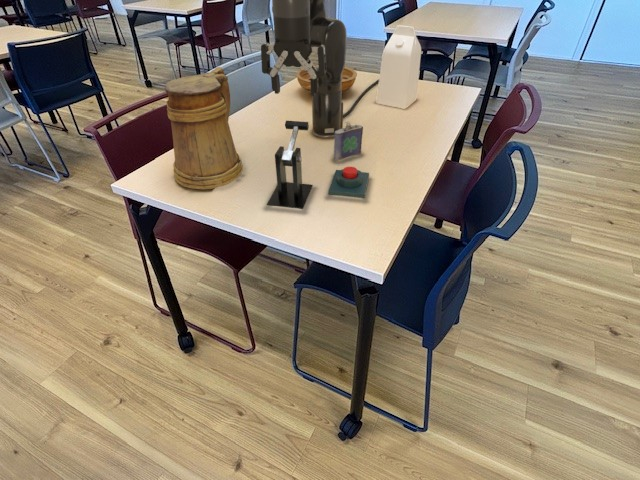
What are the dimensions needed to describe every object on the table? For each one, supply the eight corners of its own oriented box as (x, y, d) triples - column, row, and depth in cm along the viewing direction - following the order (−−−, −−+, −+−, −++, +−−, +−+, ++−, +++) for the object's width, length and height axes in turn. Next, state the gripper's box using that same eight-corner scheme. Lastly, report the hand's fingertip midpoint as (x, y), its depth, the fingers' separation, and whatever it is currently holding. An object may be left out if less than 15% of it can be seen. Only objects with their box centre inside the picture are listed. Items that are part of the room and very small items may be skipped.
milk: (416, 99, 149) (427, 25, 132) (404, 109, 142) (415, 31, 125) (388, 94, 154) (395, 21, 138) (375, 103, 147) (382, 27, 130)
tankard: (161, 184, 100) (131, 88, 85) (210, 147, 118) (192, 61, 102) (220, 197, 96) (200, 97, 80) (262, 156, 113) (252, 67, 97)
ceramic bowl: (343, 109, 141) (344, 87, 136) (284, 102, 148) (283, 80, 143) (364, 85, 163) (365, 65, 158) (312, 80, 169) (311, 60, 164)
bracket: (279, 185, 100) (275, 139, 92) (313, 188, 99) (312, 142, 90) (267, 208, 92) (261, 160, 84) (303, 212, 90) (301, 164, 82)
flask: (336, 163, 109) (337, 127, 102) (331, 159, 111) (331, 124, 104) (362, 155, 113) (365, 120, 106) (357, 152, 114) (359, 117, 108)
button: (344, 171, 98) (344, 165, 97) (357, 173, 97) (358, 167, 96) (341, 178, 95) (342, 172, 94) (356, 180, 95) (356, 174, 94)
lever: (287, 125, 94) (285, 118, 92) (309, 127, 93) (308, 120, 91) (276, 165, 89) (274, 158, 87) (299, 167, 88) (297, 160, 86)
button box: (335, 176, 103) (336, 162, 101) (368, 179, 102) (369, 165, 99) (328, 197, 95) (328, 183, 93) (364, 201, 94) (365, 187, 91)
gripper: (329, 10, 79) (328, 90, 89) (263, 9, 81) (270, 86, 91) (322, 17, 73) (322, 101, 84) (252, 15, 76) (260, 97, 86)
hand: (295, 93), depth 87 cm, fingers open, 8 cm apart
